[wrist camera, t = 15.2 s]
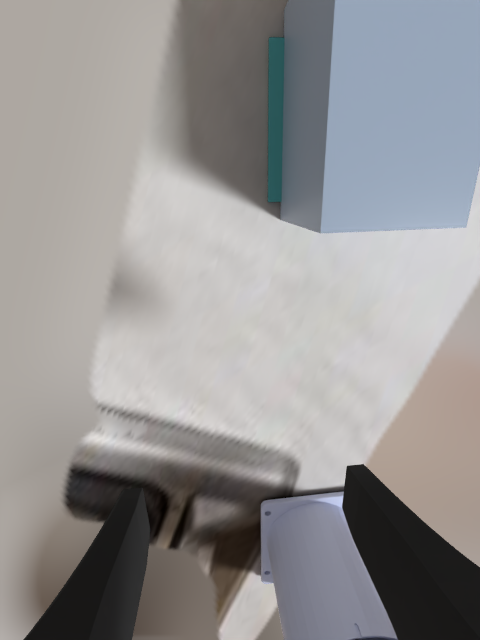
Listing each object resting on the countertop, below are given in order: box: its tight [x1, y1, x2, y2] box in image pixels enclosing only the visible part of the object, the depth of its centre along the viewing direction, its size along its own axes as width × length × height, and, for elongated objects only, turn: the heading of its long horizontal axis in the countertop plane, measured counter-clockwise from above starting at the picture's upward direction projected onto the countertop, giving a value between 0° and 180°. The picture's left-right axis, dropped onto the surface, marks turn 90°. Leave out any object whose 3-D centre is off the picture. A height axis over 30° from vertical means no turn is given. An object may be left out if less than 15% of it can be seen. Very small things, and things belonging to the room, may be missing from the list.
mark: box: [268, 37, 285, 202], centre depth 16 cm, size 7×7×1 cm
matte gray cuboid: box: [280, 0, 480, 233], centre depth 13 cm, size 9×6×7 cm, turn 2°
